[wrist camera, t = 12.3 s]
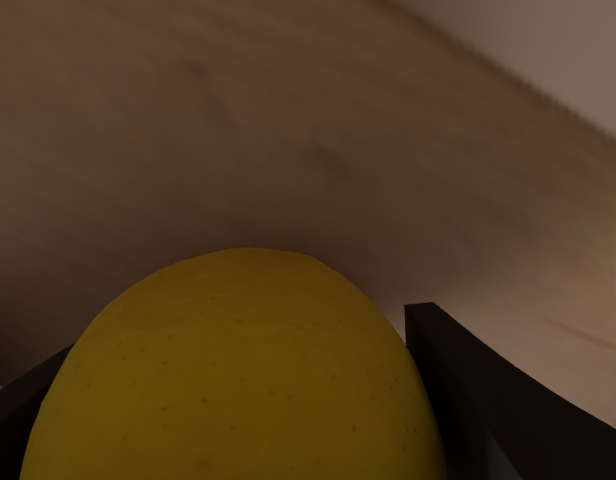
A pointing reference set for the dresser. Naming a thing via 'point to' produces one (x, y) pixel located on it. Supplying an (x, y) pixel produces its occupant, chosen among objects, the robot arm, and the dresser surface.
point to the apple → (238, 382)
